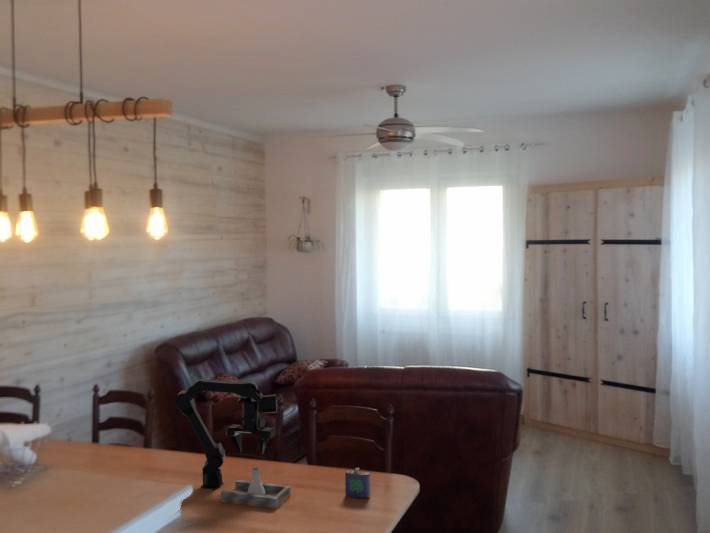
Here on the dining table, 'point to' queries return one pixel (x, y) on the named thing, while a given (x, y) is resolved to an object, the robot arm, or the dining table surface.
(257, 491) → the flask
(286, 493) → the grey rectangular tray
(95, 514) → the dining table surface
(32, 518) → the dining table surface
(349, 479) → the flask
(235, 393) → the robot arm
